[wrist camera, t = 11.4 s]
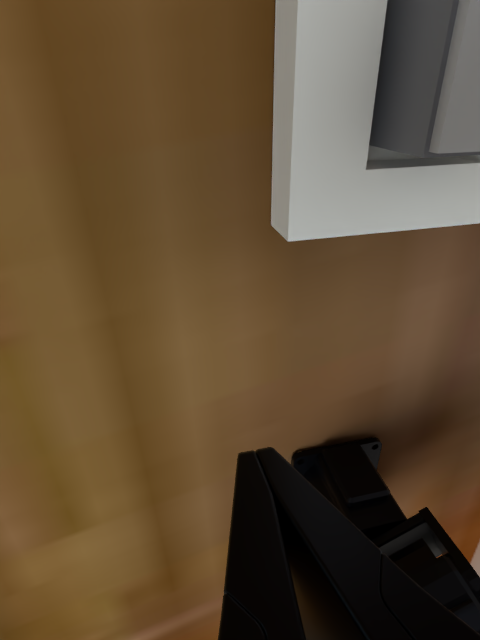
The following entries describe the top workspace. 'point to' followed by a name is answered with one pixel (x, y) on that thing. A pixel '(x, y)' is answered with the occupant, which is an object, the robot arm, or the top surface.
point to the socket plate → (349, 134)
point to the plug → (429, 79)
